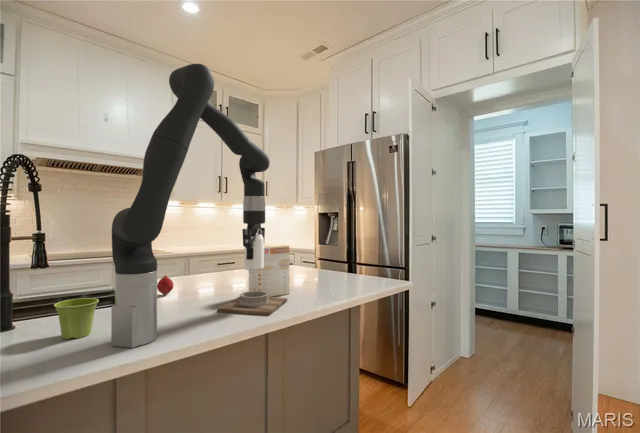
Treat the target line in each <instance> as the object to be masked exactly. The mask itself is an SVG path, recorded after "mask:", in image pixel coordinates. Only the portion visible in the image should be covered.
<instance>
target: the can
mask: <svg viewBox="0 0 640 433" xmlns="http://www.w3.org/2000/svg"><path fill="white" fill-rule="evenodd" d="M253 238H254V236H253V237H252V236H251V239H253ZM248 243H249V242H248ZM251 243H252V241H251ZM264 246H265V239H264V238H263V236H262V234H257V236H256V242H254V247H253V248H254V258H253V259H252V260H248V259H247V248H246V247H244V269H245V270H246V271H247V270H248V271H249V270H261V269H263V268H264Z"/></svg>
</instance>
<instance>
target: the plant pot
mask: <svg viewBox="0 0 640 433" xmlns="http://www.w3.org/2000/svg"><path fill="white" fill-rule="evenodd" d="M99 301H100V300H99V299H98V298H94V297H85V298H72V299H66V300H61V301H58V302H56V303H54V304H53V306H54V308H55V309H56V312H57V315H58V320H59V322H58V323H59V327H60V333H61V338H62V339H66V340H71V339H72V338H75V339H79V338H84V337H87V336H88V335H90V334H91V333H92V328H93V323H94V315H95V312H96V308H97V305H98V303H99Z"/></svg>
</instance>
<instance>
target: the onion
mask: <svg viewBox="0 0 640 433" xmlns="http://www.w3.org/2000/svg"><path fill="white" fill-rule="evenodd" d="M173 289H174V282H173V279H171V278H170V277H168V276H167V274H164V276H163V277H162V278H161V279H159V281H157V291H158V292H160V293H161V294H162V295H163V296H167V295H169V294H170V292H171V291H172V290H173Z"/></svg>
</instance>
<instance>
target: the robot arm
mask: <svg viewBox="0 0 640 433" xmlns="http://www.w3.org/2000/svg"><path fill="white" fill-rule="evenodd" d="M168 83H169V84H168V85H169V88H170V89H171V92H172V93H173V95H174V96H175V97H176V98H177V100H176V102H175V104H174V106H172V108H171V109H170V111H169V112H168V113H167V114H166V116H164V118H163V119H162V120H161V121H160V122H159V124H158V125H157V127H156V128H155V129H154V131H153V132H152V135H151V138H150V140H149V142H148V145H147V147H146V150H145V152H144V157H143V165H142V176H141V177H142V178H141V179H142V180H141V182H140V187H139V189H138V192H137V194H136V196H135V198H134V200H133V202H132V203H131V205H130V207H126V208H124V209H122V210H120V211H119V212H118V213H116V214H115V216H114V217H113V220H112V224H111V250H112V251H111V253H112V254H111V255H112V256H111V258H112V260H113V261H112V262H113V265H114V305H112V306H111V321H110V322H111V329H110V330H111V331H110V332H111V336H110V338H111V344H110V345H111V347H120V348H129V349H131V348H132V349H133V348H136V347H139V346H143V345H147V344H149V343H152V342H154V341H155V340H156V339H157V337H158V289H157V284H158V261H157V258H156V257H155V255H154V252H153V248H152V247H153V245H152V244H153V241H155V240H156V239H157V238H158V237H159V235H160V234H161V231H162V228H163V226H164V222H165V218H166V213H167V209H168V205H169V201H170V197H171V195H172V192H173V190H174V187H175V185H176V183H177V180H178V177H179V174H180V172H181V169H182V167H183V164H184V162H185V159H186V157H187V154H188V151H189V149H190V145H191V142H192V139H193V137H194V134H195V131H196V130H197V126H198V124H199V121H200V120H202V121H203V122H204V123H205V124H206V125H207V126H208V127H209V128H210V129H212V131H213V132H215V134H216V135H217V136H218V137H219V139H221V140H222V142H223V144H225V145H226V146H227V148H229V150H230V151H231V152H232V153H233V154H234V155H236V156H240V158H239V162H238V166H239V172H240V175H241V179H242V183H243V201H242V206H243V207H242V212H243V213H242V219H243V220H242V222H243V224H244V225H245V224H246V228H242V246H243V247H244V248H245V247H246V248H247V259H248V260H252V259H253V258H254V248H253V247H254V242H256V236H257V234H262V236H263V238H264V240H265V236H266V235H265V234H266V228H265V227H262V224H266V199H265V198H266V197H265V195H266V194H265V191H266V190H265V181H264V180H262V179H258V178H257V176H256V173H262V172H266V171H267V170H268V169H269V167H270V159H269V156H268V154H267V153H266V152H265V150H264V149H263V148H261V147H260V146H259V145H257V144H256V143H255V142H254V141H252V139H251V140H250V138H249V136H248V135H247V134H246V133H245V132H244V130H243V129H242V128H241V127H240V125H239V124H238V123H237V122H236V121H234V120H233V119H232V118H231V117H229V116H228V115H226V114H225V113H224V112H222V111H220V109H218V108H217V107H216V106H214V105H213V104H212V103H211V102H210V101H209V100H210V99H211V97H212V96H213V93H214V88H215V79H214V75H213V73H212V71H211V69H210V68H208V66H206V65H205V64H203V63H191V64H187V65H185V66H182V67H179V68H177V69H175V70H173V71H172V72H171V73H170V75H169V78H168ZM251 236H252V237H253V236H254V238H253V239H251ZM251 241H252V243H251ZM248 242H249V243H248Z"/></svg>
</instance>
